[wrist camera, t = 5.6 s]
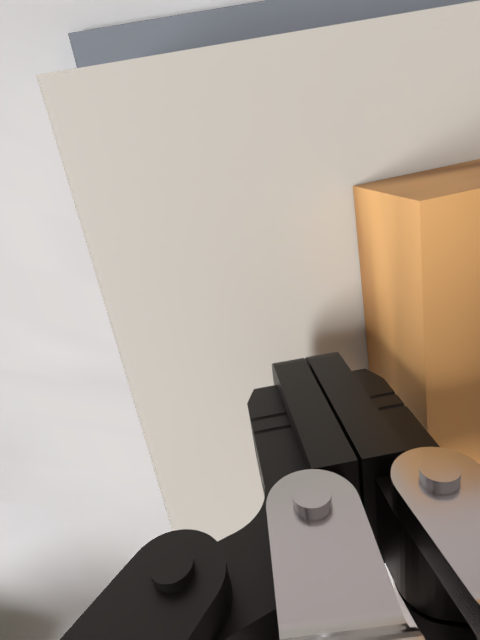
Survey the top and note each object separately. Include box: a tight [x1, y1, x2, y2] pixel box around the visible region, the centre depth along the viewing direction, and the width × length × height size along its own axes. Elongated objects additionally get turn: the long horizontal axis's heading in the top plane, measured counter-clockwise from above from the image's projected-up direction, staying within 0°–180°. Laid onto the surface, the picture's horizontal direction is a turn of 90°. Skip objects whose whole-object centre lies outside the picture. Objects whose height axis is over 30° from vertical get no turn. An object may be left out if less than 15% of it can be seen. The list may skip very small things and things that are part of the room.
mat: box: [68, 0, 479, 68], centre depth 15 cm, size 20×17×1 cm
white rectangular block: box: [36, 0, 480, 542], centre depth 13 cm, size 10×14×4 cm
